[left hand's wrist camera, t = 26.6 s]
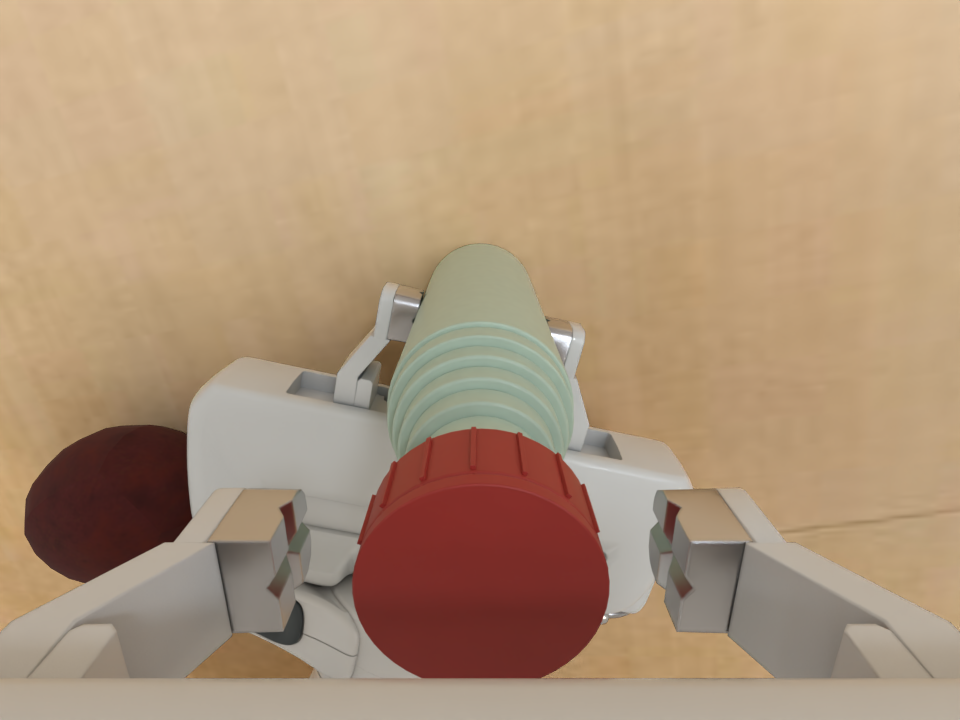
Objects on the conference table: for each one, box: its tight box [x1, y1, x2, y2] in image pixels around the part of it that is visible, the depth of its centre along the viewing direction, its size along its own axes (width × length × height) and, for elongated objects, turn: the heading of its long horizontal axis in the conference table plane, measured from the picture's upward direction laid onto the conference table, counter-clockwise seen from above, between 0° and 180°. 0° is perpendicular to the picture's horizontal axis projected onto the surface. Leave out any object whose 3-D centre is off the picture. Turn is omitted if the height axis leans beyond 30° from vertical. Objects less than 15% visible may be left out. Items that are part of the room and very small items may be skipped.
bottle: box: [387, 244, 574, 460], centre depth 18 cm, size 5×5×18 cm
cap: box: [352, 427, 610, 678], centre depth 9 cm, size 4×4×2 cm
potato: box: [25, 425, 192, 583], centre depth 26 cm, size 7×8×7 cm
